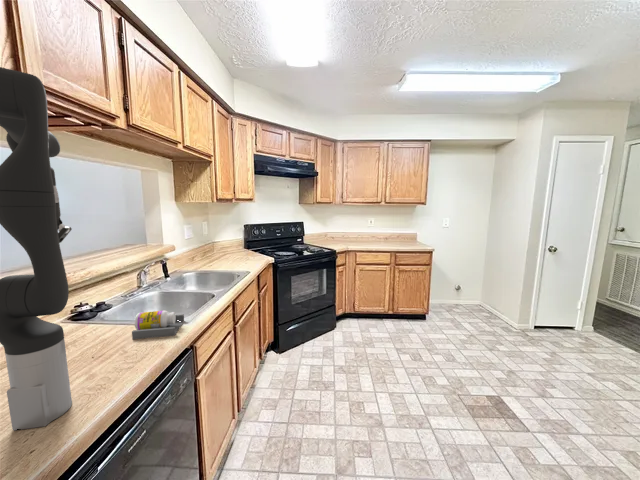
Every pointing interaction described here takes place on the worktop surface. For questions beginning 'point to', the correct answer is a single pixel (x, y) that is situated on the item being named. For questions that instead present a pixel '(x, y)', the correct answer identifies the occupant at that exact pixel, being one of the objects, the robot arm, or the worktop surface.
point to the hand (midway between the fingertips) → (48, 257)
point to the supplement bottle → (154, 320)
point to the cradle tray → (159, 330)
